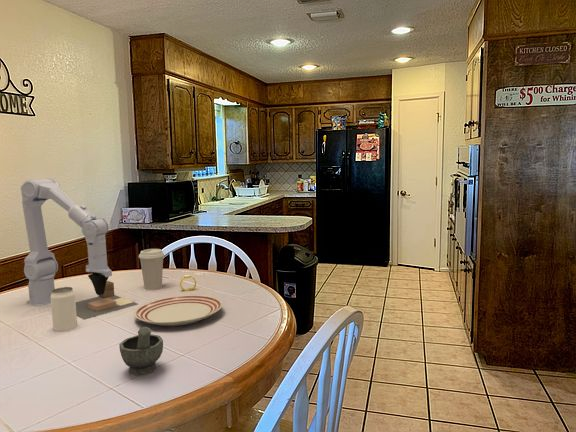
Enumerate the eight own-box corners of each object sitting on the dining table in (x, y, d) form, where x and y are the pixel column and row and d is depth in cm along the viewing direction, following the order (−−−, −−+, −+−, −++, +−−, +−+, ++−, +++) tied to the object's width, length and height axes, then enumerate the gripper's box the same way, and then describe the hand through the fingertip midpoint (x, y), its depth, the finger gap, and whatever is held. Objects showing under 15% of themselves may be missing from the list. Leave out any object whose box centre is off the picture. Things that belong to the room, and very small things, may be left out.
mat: (57, 307, 151) (57, 306, 151) (110, 294, 166) (110, 293, 166) (84, 320, 138) (84, 319, 138) (139, 305, 153) (139, 303, 153)
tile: (87, 303, 149) (96, 306, 145) (107, 297, 154) (116, 301, 151) (88, 308, 149) (96, 311, 146) (108, 302, 155) (116, 306, 151)
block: (98, 296, 162) (97, 283, 162) (109, 293, 165) (108, 280, 165) (104, 298, 160) (103, 285, 159) (114, 295, 163) (113, 282, 162)
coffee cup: (155, 283, 179) (153, 247, 177) (171, 287, 174) (169, 249, 172) (135, 289, 172) (133, 251, 170) (150, 293, 166) (148, 254, 164)
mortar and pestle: (119, 366, 107) (115, 318, 105) (158, 357, 111) (155, 311, 110) (126, 386, 97) (123, 334, 96) (169, 375, 102) (166, 325, 100)
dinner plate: (118, 318, 141) (117, 308, 140) (190, 297, 161) (190, 288, 160) (165, 340, 122) (164, 329, 122) (240, 314, 142) (239, 304, 142)
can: (67, 333, 128) (64, 293, 127) (48, 332, 130) (44, 292, 128) (82, 325, 135) (79, 287, 133) (63, 324, 136) (60, 286, 135)
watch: (181, 292, 167) (179, 277, 166) (180, 290, 170) (178, 275, 169) (197, 290, 169) (195, 275, 168) (196, 288, 172) (194, 273, 171)
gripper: (75, 254, 150) (78, 292, 152) (95, 259, 141) (99, 301, 142) (96, 250, 155) (98, 288, 157) (116, 256, 146) (119, 295, 148)
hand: (100, 294), depth 150 cm, fingers closed
